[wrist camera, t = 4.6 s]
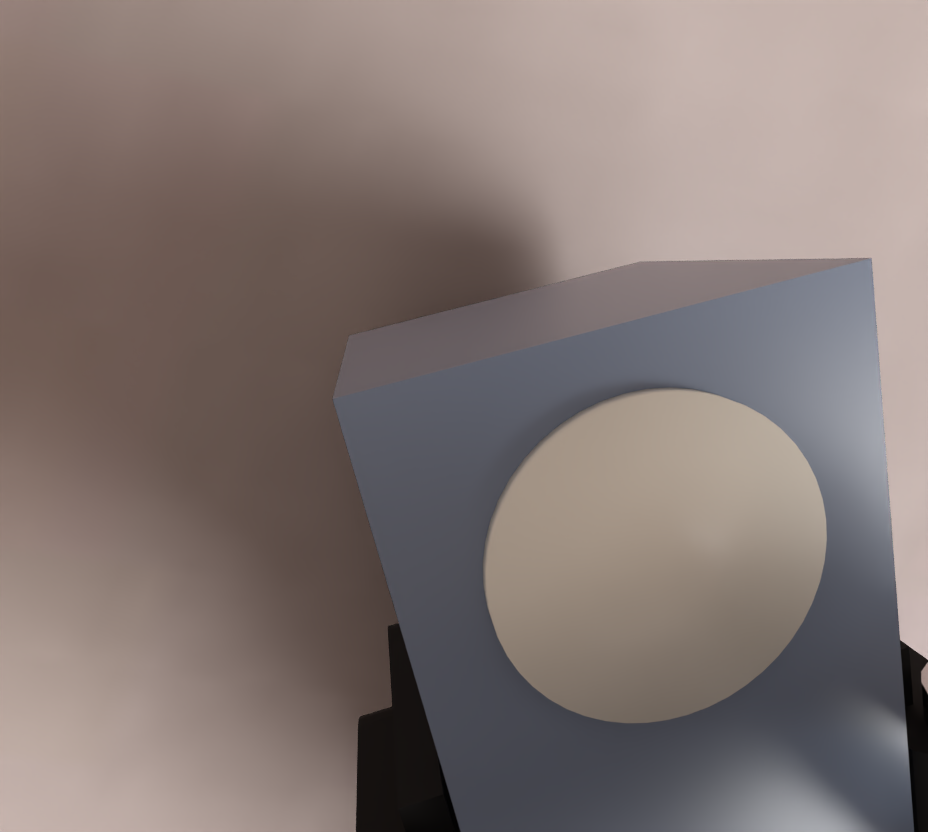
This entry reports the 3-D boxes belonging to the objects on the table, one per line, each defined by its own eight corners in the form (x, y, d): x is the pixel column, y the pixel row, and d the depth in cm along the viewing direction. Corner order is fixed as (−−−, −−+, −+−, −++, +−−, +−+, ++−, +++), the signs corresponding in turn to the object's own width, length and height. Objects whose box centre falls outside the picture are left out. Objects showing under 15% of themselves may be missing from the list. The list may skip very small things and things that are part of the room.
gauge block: (640, 262, 11) (889, 258, 6) (746, 913, 14) (958, 1275, 9) (349, 335, 10) (330, 403, 5) (533, 988, 14) (629, 1408, 9)
